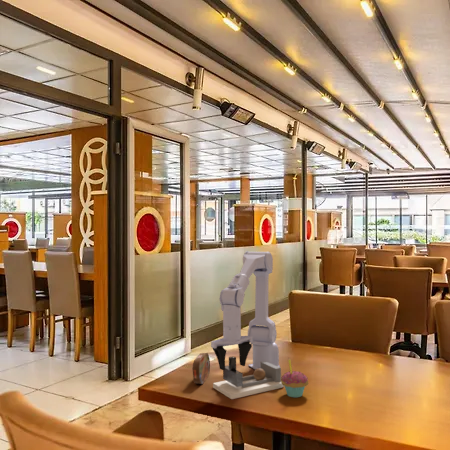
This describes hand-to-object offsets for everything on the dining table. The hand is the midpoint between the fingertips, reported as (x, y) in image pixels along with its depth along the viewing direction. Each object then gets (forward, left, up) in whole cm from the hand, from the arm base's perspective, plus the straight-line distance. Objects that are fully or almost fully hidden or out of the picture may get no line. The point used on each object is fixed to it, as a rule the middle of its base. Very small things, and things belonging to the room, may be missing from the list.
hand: (232, 367), depth 149 cm
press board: (-6, 0, -8) cm, 10 cm away
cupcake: (-15, +13, -8) cm, 21 cm away
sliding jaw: (0, 0, -5) cm, 5 cm away
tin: (+4, -15, -8) cm, 17 cm away
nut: (-11, 0, -4) cm, 11 cm away
